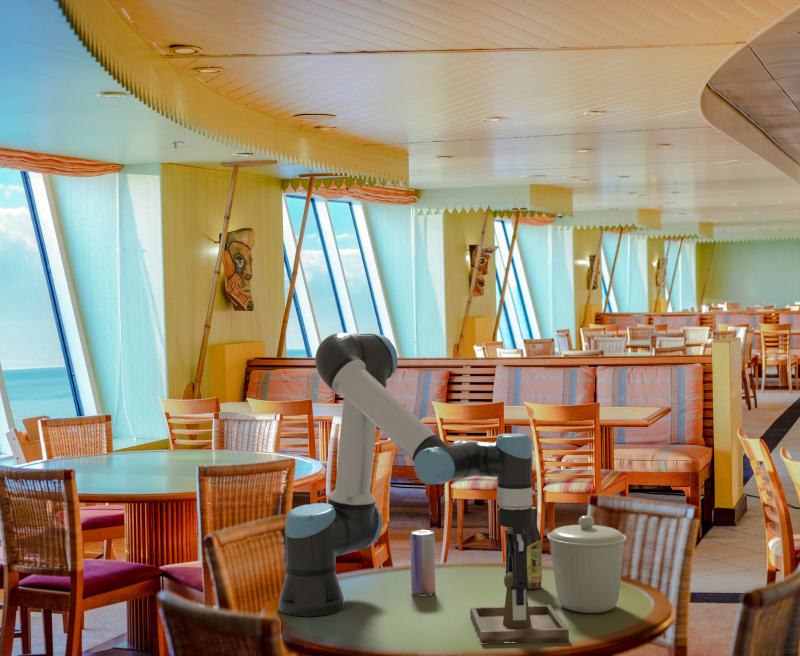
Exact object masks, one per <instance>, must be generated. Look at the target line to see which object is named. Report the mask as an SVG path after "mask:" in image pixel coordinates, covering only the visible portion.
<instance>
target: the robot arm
mask: <svg viewBox="0 0 800 656" xmlns="http://www.w3.org/2000/svg"><path fill="white" fill-rule="evenodd" d="M314 361H315V368H316V370H317V374H318V375H319V377H320V378H321V380H322V381H323V383H324V384H325V385H326V386H328V388H330V390H331V391H332V392H333V393H335V394H336V395H340V396H341V395H343V399H342V400H343V401H342V410H341V411H342V412H341V423H340V424H341V425H340V432H339V433H340V435H339V445H338V455H337V456H338V457H337V468H336V477H335V479H336V480H335V488H334V490H332V491H331V492H330V493H329V494H328V499H327V503H326V502H325V503H324V502H315V503H311V504H308V503H307V504H303V505H299V506H297V507H294V508H292V509H290V511H288V513H287V514H286V516H285V526H284V527H285V528H284V535H285V541H284V542H285V568H286V569H285V578H284V581H283V585H282V587H281V588H282V589H281V592H280V595H279V599H278V610H279V612H280V613H283V614H285V615H289V616H294V617H317V616H318V617H319V616H325V615H331V614H334V613H337V612H339V611H341V610H342V609H344V606H345V605H344V604H345V603H344V602H345V601H344V600H345V599H344V594H343V591H342V588H341V585H340V582H339V579H338V575H337V572H336V571H337V570H336V568H337V567H336V565H337V564H336V563H337V559H336V557H339V556H343V555H346V554H350V553H354V552H360V551H363V550H365V549H366V548H369V547H371V546H372V545H374V544H375V543H376V542H377V541H378V540H379V538H380V536H381V533H382V529H383V516H382V514H381V512H380V509H379V507H378V505H377V504H376V497H374V495H373V494H372V492H371V485H372V474H373V463H374V453H375V440H376V431H377V429H376V427H377V428H378V429H379V430H380V431H381V432H382V433H383V434H384V435H385V436H386V437H387V438H388V439H389V440H391V442H393V443H394V444H395V445H396V446H397V447H398V448H399V449H400V450H401V451H402V453H404V454H405V455H406V456H407V457H408V458H409V459H411V461H413V470H414V472H415V474H416V477H417V478H418V480H419V481H421V482H422V483H424V484H425V485H440V484H441V485H442V484H446V483H448V482H451V481H455V480H463V479H467V478H472V477H477V476H478V477H489V478H490V477H491V478H496V482H497V483H496V484H497V485H496V498H497V499H496V500H497V503H496V504H497V505H498V506H499V507H498V508H497V523H498V525H499V526H500V527H504V528H507V529H505V530H504V536H505V537H504V538H505V575H506V574H507V573H509V572H513V587H510V590H512V599H513V620H526V593H527V590H528V589H527V588H528V584H527V545H528V544H527V540H526V535H524V532H523V528H524V527H529V526H531V525H532V524H533V509H532V508H531V507H532V505H533V503H534V502H533V500H534V499H533V496H535V495H536V491H535V490H533V457H534V455H533V449H532V439H531V437H530V436H529V435H527V434H525V433H501V434H500V433H499V435H497V437H496V441H495V442H489V441H477V440H471V439H465V440H455V441H453V442H452V443H451V444H447V443H446V442H445V441H444V440H442V438H441V437H439V435H437V434H436V433H434V432H433V431H432V430H431V429H430V428H429V427H428V426H427V425H426V424H425V423H424V422H423V421H422V420H421V419H419V417H417V416H416V415H415V414H414V413H413V412H412V411H411V410H409V409H408V408H407V407H406V406H405V405H404V404H403V403H402V402H401V401H400V400H399V399H398V398H397V397H396V396H394V394H392V393H391V392H390V391H389V390H388V389H387V381H388V379H390V378H391V377H392V376H393V375H394V374H395V373H396V371H397V368H398V362H399V360H398V353H397V349H396V347H395V345H394V344H393V343H392V342H391V340H390V339H389V338H388V337H386V336H385V335H382V334H380V333H374V332H337V333H333V334H331V335H328V336H327V337H325V339H323V340H322V341H321V343H320V344H319V345H318V347H317V350H316V352H315V359H314Z"/></svg>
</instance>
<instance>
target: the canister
mask: <svg viewBox="0 0 800 656" xmlns="http://www.w3.org/2000/svg"><path fill="white" fill-rule="evenodd" d="M546 537H547V539H548V540H549V544H550V551H551V553H550V554H551V558H552V559H551V560H552V561H551V562H552V568H553V575H554V582H555V589H556V594H557V599H558V601H559V603H560V604H561V606H562V607H564V608H565V609H567V610H569V611H572V612H576V613H583V614H598V613H600V614H601V613H605V612H608V611H611V610H612V609H613V610H614V608H615V607H616V605H617V603H618V601H619V597H620V591H621V590H620V589H621V580H622V572H623V571H622V570H623V560H624V559H623V558H624V545H625V542H626V541H627V539H628V538H627V536H626V535H625V534H623V533H622V532H621V531H619V530H618V529H616V528H614V527H609V526H604V525H597V524H595V520H594V518H593V517H592V516H590V515H582V516H580V517H579V518H578V524H571V525H563V526H559V527H556V528H554V530H552V531H550V532H548V533H547V534H546Z"/></svg>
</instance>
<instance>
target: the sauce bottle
mask: <svg viewBox="0 0 800 656" xmlns="http://www.w3.org/2000/svg"><path fill="white" fill-rule="evenodd" d="M530 507H531V508H532V509H533V524H532V525H531V526H529V527H524V528H523V532H524V535H526V540H527V544H528V545H527V577H528V588H527V589H526V590H537V589H540V588H541V587H542V581H543V567H542V566H543V560H542V559H543V555H542V554H543V551H542V549H543V545H542V544H543V543H542V542H543V541H542V539H543V538H542V537H541V534H540V531H539V528H538V524H537V514H538V508H537V507H535V506H530Z"/></svg>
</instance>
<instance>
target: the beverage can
mask: <svg viewBox="0 0 800 656" xmlns="http://www.w3.org/2000/svg"><path fill="white" fill-rule="evenodd" d="M410 533H411V534H410V583H411V585H410V590H411V593H412V594H413V595H414V594H415V595H414V596H417V595H429V596H431V595H430V594H433V593H434V594H435V593H436V541H435V538H436V537H435V532H434V531H433V530H428V529H420V530H419V529H417V530H412V531H411V532H410ZM434 594H433V595H434Z"/></svg>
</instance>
